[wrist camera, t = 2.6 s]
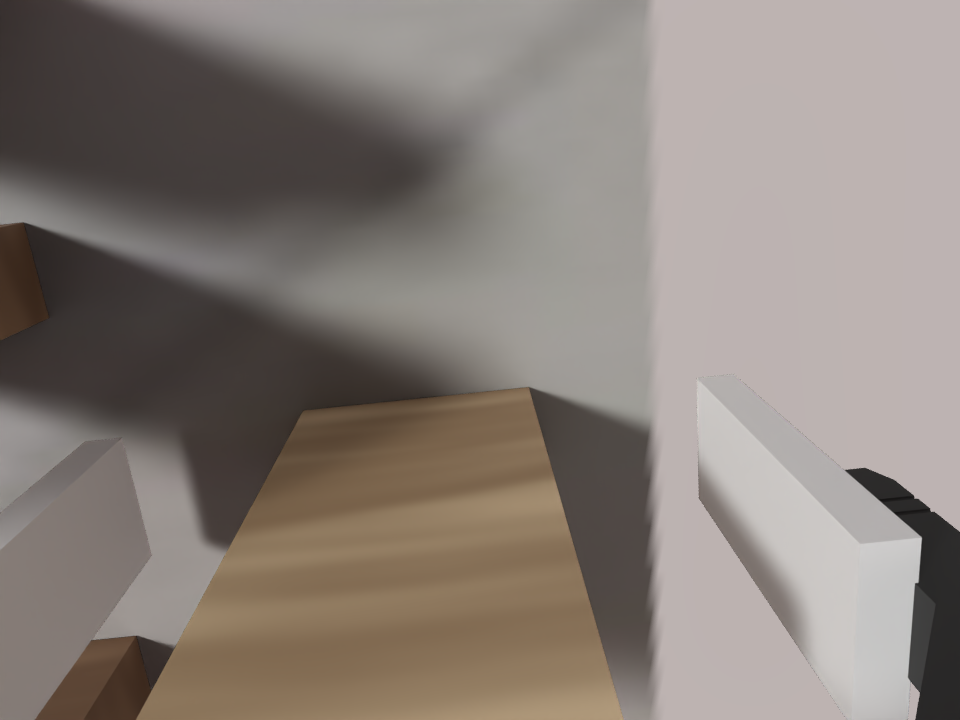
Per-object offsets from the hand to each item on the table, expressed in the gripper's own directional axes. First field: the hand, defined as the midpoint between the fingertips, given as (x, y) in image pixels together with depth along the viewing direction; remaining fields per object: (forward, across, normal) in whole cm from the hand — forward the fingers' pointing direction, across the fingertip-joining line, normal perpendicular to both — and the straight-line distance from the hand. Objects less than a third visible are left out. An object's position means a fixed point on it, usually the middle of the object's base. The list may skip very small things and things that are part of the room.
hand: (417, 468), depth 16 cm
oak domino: (+1, 0, 0) cm, 1 cm away
